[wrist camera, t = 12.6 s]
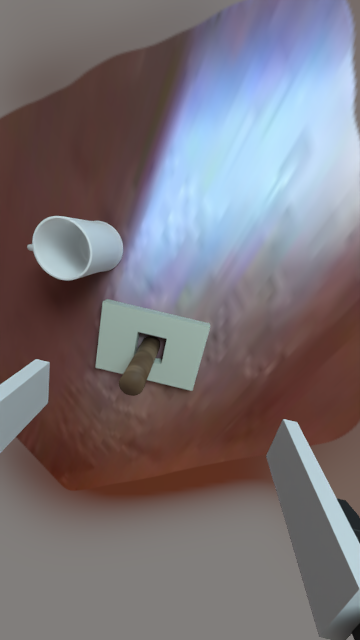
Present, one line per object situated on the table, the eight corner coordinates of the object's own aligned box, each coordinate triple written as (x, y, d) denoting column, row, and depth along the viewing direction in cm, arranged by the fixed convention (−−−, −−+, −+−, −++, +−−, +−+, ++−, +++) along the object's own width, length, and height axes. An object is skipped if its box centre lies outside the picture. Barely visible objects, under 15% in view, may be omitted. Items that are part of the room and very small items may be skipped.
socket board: (99, 362, 50) (95, 367, 48) (106, 299, 45) (102, 301, 43) (192, 385, 49) (192, 390, 47) (209, 323, 45) (210, 327, 43)
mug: (59, 265, 44) (10, 274, 32) (57, 215, 41) (2, 206, 30) (122, 274, 43) (93, 286, 32) (124, 224, 40) (93, 218, 29)
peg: (141, 350, 48) (117, 392, 35) (144, 334, 47) (120, 371, 33) (158, 354, 48) (141, 398, 35) (161, 338, 47) (145, 377, 33)
